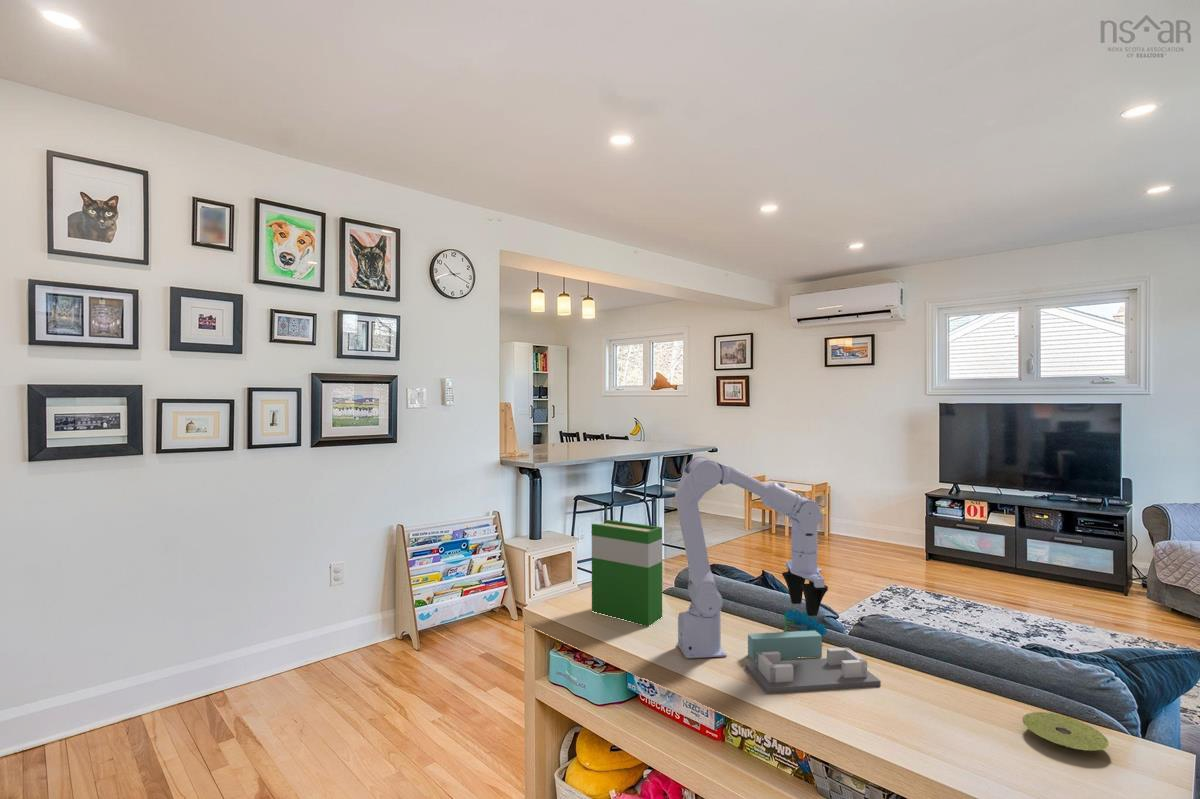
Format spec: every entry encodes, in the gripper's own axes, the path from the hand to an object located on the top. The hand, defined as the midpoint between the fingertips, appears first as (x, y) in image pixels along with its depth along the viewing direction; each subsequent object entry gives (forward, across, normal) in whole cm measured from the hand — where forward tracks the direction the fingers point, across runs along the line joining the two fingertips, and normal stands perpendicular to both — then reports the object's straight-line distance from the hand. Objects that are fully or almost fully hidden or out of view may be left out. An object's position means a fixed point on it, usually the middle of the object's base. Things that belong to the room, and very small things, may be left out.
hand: (804, 609), depth 133 cm
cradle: (+9, -13, +5) cm, 17 cm away
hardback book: (+10, +26, +37) cm, 46 cm away
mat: (+9, -40, -26) cm, 49 cm away
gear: (+10, +6, -3) cm, 12 cm away
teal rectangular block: (+10, -3, +6) cm, 12 cm away
